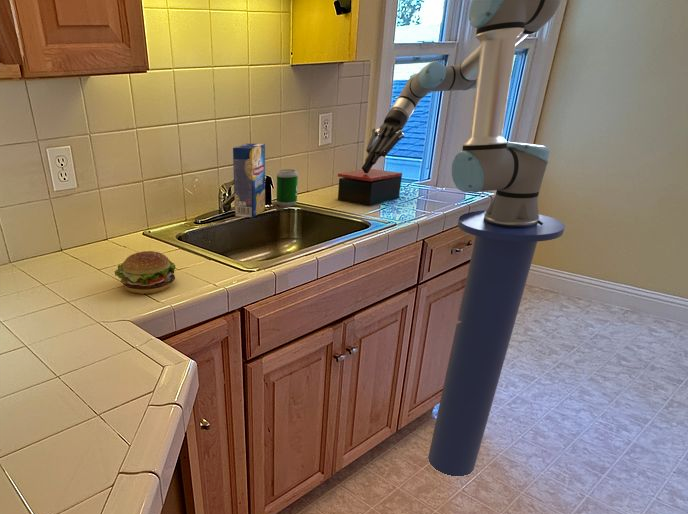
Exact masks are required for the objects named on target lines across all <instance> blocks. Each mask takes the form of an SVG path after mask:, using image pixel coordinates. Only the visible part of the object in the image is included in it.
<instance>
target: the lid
mask: <svg viewBox="0 0 688 514" xmlns="http://www.w3.org/2000/svg"><path fill="white" fill-rule="evenodd" d="M397 176H402V177H403V172H399V171H391V170H385V169H384V170H383V169H375V168H371V169H370V171H369V172H368V173H364V171H363V170H362V169H359V170H352V171H346V172H340V173H338V174H337V177H339V178H343V177H344V178H351V179H357V180H364V181H376V180H381V179H387V178H392V177H397Z"/></svg>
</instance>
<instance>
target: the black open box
mask: <svg viewBox="0 0 688 514" xmlns="http://www.w3.org/2000/svg"><path fill="white" fill-rule="evenodd" d="M402 178H403V175H402V176H397V177H392V178H387V179H381V180H376V181H364V180H357V179H351V178H344V177H339V178H338V191H337V201H342V202H347V203H351V204H357V205H362V206H367V207H371V206H374V205H378V204H382V203H386V202H389V201H392V200H395V199H400V193H401V187H402V186H401V185H402Z"/></svg>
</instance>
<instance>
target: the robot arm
mask: <svg viewBox="0 0 688 514" xmlns="http://www.w3.org/2000/svg"><path fill="white" fill-rule="evenodd" d="M560 4H561V0H471V2H470V6H469V10H468V21H469V24H470V26H471V27H473V28H475V29H476V33H475V38H476V39H477V40H478V42H479V43H480V44H479V45H478V47H476V49H474V50H473V51H472V52H471V53H470V54H469V55H468V56H467V57H466V58H465V59H464V60H462V62H461V63H459V64H458V65H444V63H441V62H440V61H438V60H433V61H431V62H429V63H428V64H426V65H425V66H424V67H422V68H421V69H420V71H419V72H417V73H413V74H412V75H411V76H410V78H409V79H408V80H407V81H406V83H405V85H404V86H403V88H402V90H401V91H400V93H399V95H398V96H397V98H396V100H395V102H394V103H393V104H392V105H391V107H390V110H389V111H388V112H387V114H386V115H385V117H384V120H383V123H382V124H381V125H380V126H379V128H377V129H376V128H372V130H371V136H370V138H369V141H368V143H367V147H366V149H365V151H366V152H367V153H366V154H368V155H367V156H366V158H365V159H364V163H363V165H362V167H361V170H363V171H364V173H368V172H369V171H370V169H372V167H373V166H374V165H375V164H377V162H378V160H379V159H380V158H382V157H383V158H385V157H386V156H387V155H388V154H389V153H390V152H391V151H392V150H393V148H394V147H395V146H396V145H397V144H398V143H399V142H400V141H401V140H402V139H403V138H405V134H404V132H403V130H404V128H405V126H406V125H407V123H408V121H409V119H410V118H411V116H412V114H413V113H414V111H415V110H416V108H417V107H418V105H419V104H420V102H421V100H422V99H424V98H425V97H426V96H427V95H429V94H430V93H433V92H435V93H436V92H446V91H447V92H448V91H468V90H475V91H474V96H473V107H472V115H471V123H470V129H469V138H468V139H467V140H466V141H465V142H464V143H463V144H462V149H461V151H459V152H458V153H456V154H455V156H454V159H453V160H452V163H451V178H452V181H453V183H454V185H455V187H456V188H457V189H458V190H459V191H461V192H463V193H480V192H488V191H490V192H491V191H495V195H494V197H493V198H492V201H491V203H490V204H489V206H488V207H487V209H486V210H487V211H486V213H485V216H484V221H485V222H486V223H488V224H491V225H494V226H499V227H506V228H529V227H534V226H536V225H537V224H538V223H539V224H540V225H542V224H543V223H542V222H541V221H539V214H540V213H539V212H540V211H539V201H538V198H539V195H540V190H541V186H542V183H543V181H544V180H543V179H544V175H545V173H546V169H547V165H548V164H549V161H548V160H549V155H550V149H549V148H548V147H547V146H545V145H541V144H534V143H533V144H532V143H525V142H514V141H507V140H506V139H505V137H504V136H503V135H504V126H505V121H506V113H507V108H508V107H507V106H508V100H509V93H510V86H511V79H512V73H513V66H514V65H513V64H514V59H515V53H516V46H517V45H518V44H519V43H521V42H522V41H523V40H524V39H526V37H527V36H532V35H534V34H536V33H538V32H539V31H540V30H541V29H542V28H544V27H545V26H546V25H547V24H548V23H549V22H550V21H551V20H552V18H553V17H554V16H555V14H556V13H557V11H558V9H559V7H560Z"/></svg>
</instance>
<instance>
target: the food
mask: <svg viewBox="0 0 688 514" xmlns="http://www.w3.org/2000/svg"><path fill="white" fill-rule="evenodd" d="M175 270H177V268H176V265H175V262H172V261H171V260H170V259H169V258H168V256H167V255H165V254H163V253H161V252H159V251H154V250H145V251H144V250H143V251H139V252H135V253H132V254H130V255H129V256H127V257H126V258H125V259H124V261H123V262H122V263H120V264H118V265H117V269H116V270H114V276H116V277H118V278H119V279H120V282H121V283H122V285H123V287H124V289H125V290H126V291H128V292H130V293H132V294H141V295H148V294H155V293H160V292H163V291H165V290H167V289H169V288H170V287H172V286H173V283H174V281H175V280H176V276H175Z"/></svg>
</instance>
